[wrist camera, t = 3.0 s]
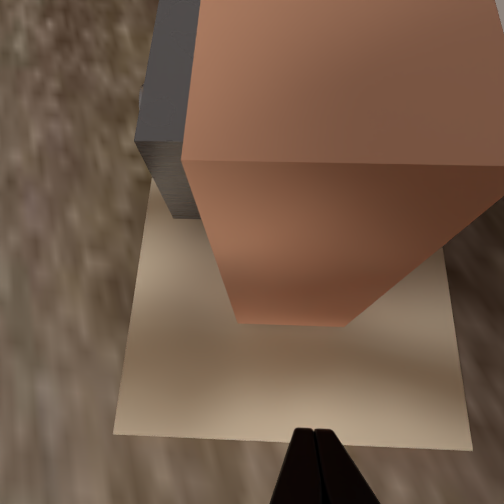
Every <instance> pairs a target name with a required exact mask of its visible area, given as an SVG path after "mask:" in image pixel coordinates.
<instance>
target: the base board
mask: <svg viewBox="0 0 504 504" xmlns="http://www.w3.org/2000/svg"><path fill="white" fill-rule="evenodd" d="M297 427H300V428H311V429H313V431H314V429H316V428H323V429H331V430H333V431H334V432H335V434H336V435H337V437H338V438H339V440H340V442H341V443H342V445H356V446H378V447H400V448H421V449H443V450H464V451H473V447H472V441H471V434H470V427H469V421H468V414H467V407H466V401H465V394H464V387H463V381H462V374H461V367H460V360H459V354H458V347H457V340H456V334H455V327H454V320H453V314H452V307H451V300H450V293H449V287H448V280H447V273H446V267H445V260H444V253H443V247H441V248H440V249H439V250H437V251H436V252H435V253H434V254H432V255H431V256H430V257H429V258H428V259H426V260H425V261H424V262H423V263H421V264H420V265H419V266H418V267H417V268H415V269H414V270H413V271H412V272H411V273H409V274H408V275H407V276H406V277H404V278H403V279H402V280H401V281H400V282H398V283H397V284H396V285H395V286H393V287H392V288H391V289H390V290H389V291H387V292H386V293H385V294H384V295H383V296H381V297H380V298H379V299H378V300H376V301H375V302H374V303H373V304H372V305H370V306H369V307H368V308H367V309H365V310H364V311H363V312H362V313H361V314H359V315H358V316H357V317H356V318H355V319H353V320H352V321H351V322H350V323H348V324H347V325H346V326H345V327H326V326H297V325H268V324H239V323H237V320H236V317H235V314H234V311H233V308H232V306H231V303H230V300H229V297H228V294H227V291H226V288H225V285H224V283H223V280H222V277H221V274H220V271H219V268H218V265H217V262H216V260H215V257H214V254H213V251H212V248H211V245H210V242H209V239H208V237H207V234H206V231H205V228H204V225H203V222H202V219H173V217H172V215H171V213H170V211H169V209H168V207H167V205H166V203H165V201H164V199H163V197H162V195H161V193H160V191H159V189H158V187H157V185H156V183H155V181H154V179H153V177H152V182H151V188H150V195H149V201H148V208H147V214H146V221H145V227H144V234H143V241H142V247H141V254H140V260H139V267H138V273H137V280H136V286H135V293H134V300H133V306H132V313H131V319H130V326H129V332H128V339H127V345H126V352H125V359H124V365H123V372H122V378H121V385H120V391H119V398H118V404H117V411H116V417H115V424H114V431H113V434H119V435H141V436H162V437H184V438H205V439H227V440H249V441H270V442H290V440H291V437H292V434H293V431H294V429H295V428H297Z"/></svg>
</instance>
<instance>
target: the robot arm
mask: <svg viewBox="0 0 504 504" xmlns="http://www.w3.org/2000/svg"><path fill="white" fill-rule="evenodd" d="M270 504H380V502H379V500H378V499H377V497H376V496H375V494H374V493H373V491H372V490H371V488H370V487H369V485H368V483H367V482H366V480H365V479H364V477H363V476H362V474H361V473H360V471H359V469H358V468H357V466H356V465H355V463H354V462H353V460H352V459H351V457H350V456H349V454H348V452H347V451H346V449H345V448H344V446H343V445H342V443H341V442H340V440H339V438H338V437H337V435H336V434H335V432H334V431H333V430H331V429H323V428H316V429H314V431H313V429H311V428H300V427H297V428H295V429H294V431H293V434H292V437H291V440H290V443H289V446H288V449H287V452H286V455H285V458H284V461H283V464H282V468H281V471H280V474H279V477H278V480H277V483H276V486H275V489H274V492H273V495H272V498H271V501H270Z"/></svg>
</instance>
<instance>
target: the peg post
mask: <svg viewBox="0 0 504 504" xmlns="http://www.w3.org/2000/svg"><path fill="white" fill-rule="evenodd" d="M181 162H182V165H183V168H184V171H185V173H186V176H187V179H188V182H189V185H190V188H191V191H192V194H193V196H194V199H195V202H196V205H197V208H198V211H199V214H200V216H201V219H202V222H203V225H204V228H205V231H206V234H207V237H208V239H209V242H210V245H211V248H212V251H213V254H214V257H215V260H216V262H217V265H218V268H219V271H220V274H221V277H222V280H223V283H224V285H225V288H226V291H227V294H228V297H229V300H230V303H231V306H232V308H233V311H234V314H235V317H236V320H237V323H239V324H268V325H297V326H326V327H345V326H346V325H347V324H348V323H350V322H351V321H352V320H353V319H355V318H356V317H357V316H358V315H359V314H361V313H362V312H363V311H364V310H365V309H367V308H368V307H369V306H370V305H372V304H373V303H374V302H375V301H376V300H378V299H379V298H380V297H381V296H383V295H384V294H385V293H386V292H387V291H389V290H390V289H391V288H392V287H393V286H395V285H396V284H397V283H398V282H400V281H401V280H402V279H403V278H404V277H406V276H407V275H408V274H409V273H411V272H412V271H413V270H414V269H415V268H417V267H418V266H419V265H420V264H421V263H423V262H424V261H425V260H426V259H428V258H429V257H430V256H431V255H432V254H434V253H435V252H436V251H437V250H439V249H440V248H441V247H442V246H443V245H445V244H446V243H447V242H448V241H449V240H451V239H452V238H453V237H454V236H456V235H457V234H458V233H459V232H460V231H462V230H463V229H464V228H465V227H467V226H468V225H469V224H470V223H471V222H473V221H474V220H475V219H476V218H477V217H479V216H480V215H481V214H482V213H484V212H485V211H486V210H487V209H488V208H490V207H491V206H492V205H493V204H495V203H496V202H497V201H498V200H499V199H501V198H502V197H503V196H504V33H503V29H502V26H501V22H500V18H499V14H498V10H497V7H496V3H495V0H201V2H200V10H199V18H198V26H197V34H196V42H195V50H194V58H193V66H192V74H191V82H190V90H189V99H188V107H187V115H186V123H185V131H184V139H183V147H182V155H181Z"/></svg>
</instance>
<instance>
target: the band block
mask: <svg viewBox="0 0 504 504" xmlns="http://www.w3.org/2000/svg"><path fill="white" fill-rule="evenodd" d="M200 2H201V0H159V4H158V10H157V15H156V21H155V27H154V32H153V38H152V43H151V49H150V54H149V60H148V66H147V71H146V77H145V82H144V84H143V85H142V86H141V89H140V94H139V109H140V110H139V116H138V121H137V127H136V133H135V138H134V142H135V144H136V146H137V148H138V150H139V152H140V154H141V156H142V157H143V159H144V161H145V163H146V165H147V167H148V169H149V171H150V173H151V175H152V177H153V179H154V181H155V183H156V185H157V187H158V189H159V191H160V193H161V195H162V197H163V199H164V201H165V203H166V205H167V207H168V209H169V211H170V213H171V215H172V217H173V219H201V216H200V214H199V211H198V208H197V205H196V202H195V199H194V196H193V194H192V191H191V188H190V185H189V182H188V179H187V176H186V173H185V171H184V168H183V165H182V162H181V155H182V147H183V139H184V131H185V123H186V115H187V107H188V99H189V90H190V82H191V74H192V66H193V58H194V50H195V42H196V34H197V26H198V18H199V10H200Z"/></svg>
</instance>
